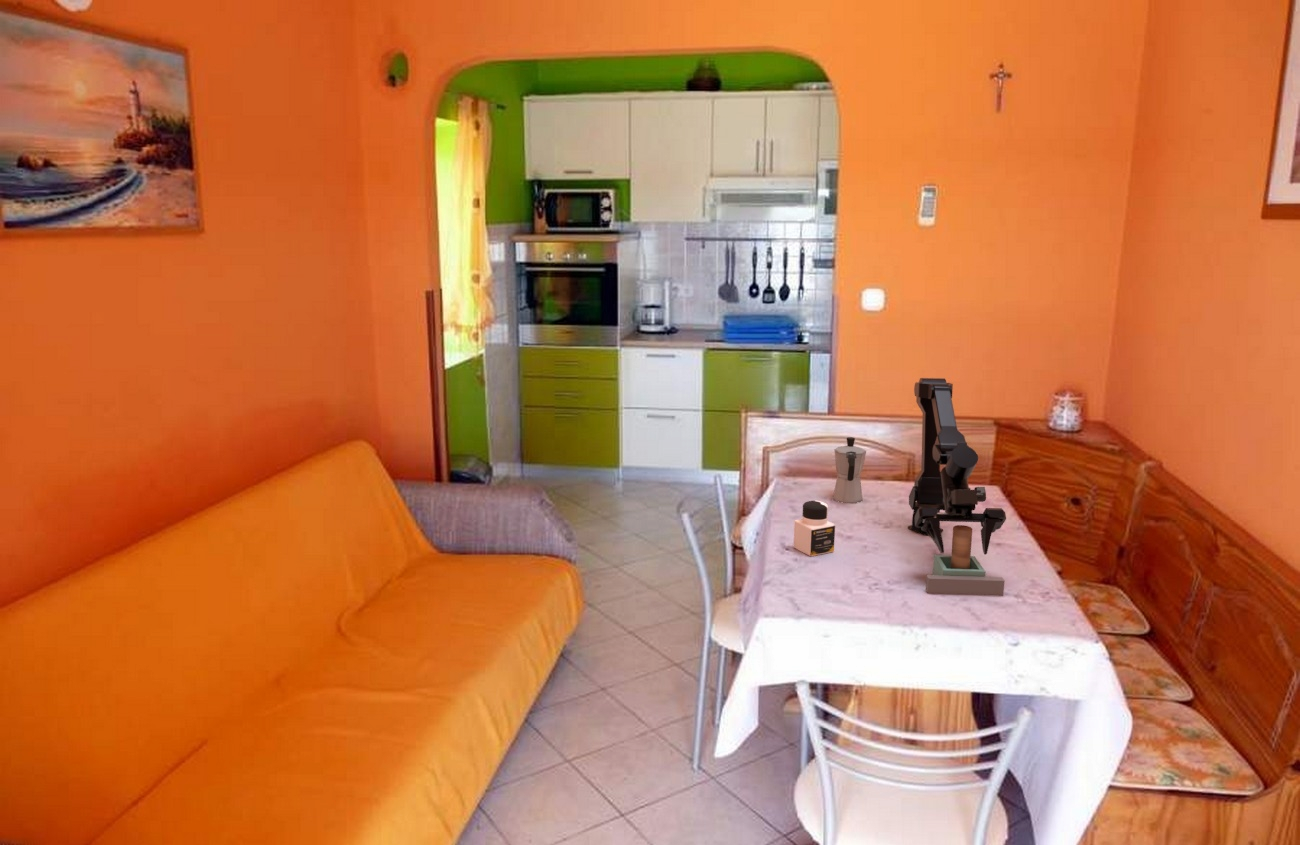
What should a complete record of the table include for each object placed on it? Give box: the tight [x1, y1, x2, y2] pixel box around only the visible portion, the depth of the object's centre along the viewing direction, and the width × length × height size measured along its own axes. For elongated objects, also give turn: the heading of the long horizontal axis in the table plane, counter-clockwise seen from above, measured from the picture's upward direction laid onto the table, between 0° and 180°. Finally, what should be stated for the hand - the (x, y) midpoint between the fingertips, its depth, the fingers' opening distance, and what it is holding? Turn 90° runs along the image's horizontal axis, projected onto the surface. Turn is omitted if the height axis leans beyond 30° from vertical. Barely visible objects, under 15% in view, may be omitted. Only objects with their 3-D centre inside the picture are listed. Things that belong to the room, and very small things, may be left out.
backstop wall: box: [925, 574, 1005, 597], centre depth 204 cm, size 2×16×4 cm, turn 86°
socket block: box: [932, 554, 986, 577], centre depth 209 cm, size 9×9×4 cm
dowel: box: [950, 524, 973, 569], centre depth 207 cm, size 4×4×12 cm
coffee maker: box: [832, 436, 867, 504], centre depth 265 cm, size 15×9×18 cm, turn 172°
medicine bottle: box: [793, 500, 836, 557], centre depth 228 cm, size 7×7×12 cm
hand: (964, 553), depth 205 cm, fingers open, 9 cm apart
